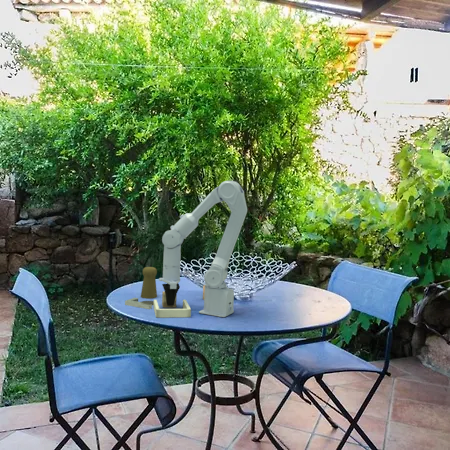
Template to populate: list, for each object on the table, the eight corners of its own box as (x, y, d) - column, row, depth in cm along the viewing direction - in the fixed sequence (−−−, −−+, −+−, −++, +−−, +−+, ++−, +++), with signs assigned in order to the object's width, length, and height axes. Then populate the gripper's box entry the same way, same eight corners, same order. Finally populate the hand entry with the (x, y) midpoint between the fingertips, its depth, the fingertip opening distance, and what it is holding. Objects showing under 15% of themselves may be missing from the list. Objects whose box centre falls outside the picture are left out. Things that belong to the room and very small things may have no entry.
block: (176, 307, 171) (176, 294, 170) (162, 307, 170) (163, 294, 169) (174, 304, 175) (175, 291, 175) (162, 304, 174) (162, 291, 174)
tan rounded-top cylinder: (218, 298, 186) (219, 285, 186) (212, 301, 182) (213, 288, 181) (206, 296, 188) (207, 283, 188) (200, 299, 184) (200, 286, 183)
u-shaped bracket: (190, 317, 159) (190, 309, 159) (156, 317, 157) (156, 309, 157) (185, 306, 172) (185, 299, 172) (153, 307, 170) (153, 299, 170)
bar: (158, 306, 172) (158, 301, 172) (149, 309, 167) (149, 305, 167) (134, 301, 176) (134, 297, 176) (124, 305, 171) (125, 300, 171)
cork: (158, 295, 187) (159, 266, 186) (155, 299, 181) (156, 269, 180) (143, 294, 188) (143, 265, 187) (138, 298, 182) (139, 268, 181)
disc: (160, 302, 176) (160, 302, 176) (150, 306, 170) (150, 305, 170) (145, 300, 178) (145, 299, 178) (136, 303, 173) (136, 303, 173)
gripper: (158, 261, 174) (156, 300, 175) (161, 269, 160) (160, 311, 161) (178, 262, 175) (176, 300, 176) (183, 269, 161) (181, 310, 162)
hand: (170, 305), depth 169 cm, fingers closed
